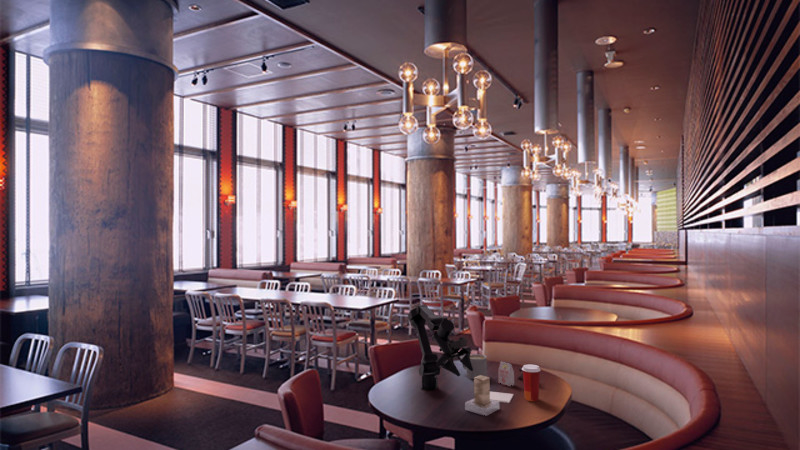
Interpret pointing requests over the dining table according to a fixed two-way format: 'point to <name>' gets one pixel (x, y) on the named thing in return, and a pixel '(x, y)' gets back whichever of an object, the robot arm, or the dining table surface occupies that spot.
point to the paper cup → (531, 382)
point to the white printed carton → (505, 374)
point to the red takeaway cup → (521, 373)
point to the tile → (501, 397)
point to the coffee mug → (477, 366)
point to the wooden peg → (482, 390)
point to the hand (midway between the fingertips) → (466, 373)
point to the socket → (482, 407)
